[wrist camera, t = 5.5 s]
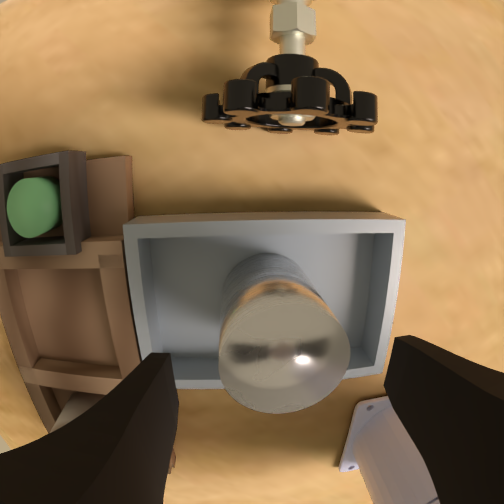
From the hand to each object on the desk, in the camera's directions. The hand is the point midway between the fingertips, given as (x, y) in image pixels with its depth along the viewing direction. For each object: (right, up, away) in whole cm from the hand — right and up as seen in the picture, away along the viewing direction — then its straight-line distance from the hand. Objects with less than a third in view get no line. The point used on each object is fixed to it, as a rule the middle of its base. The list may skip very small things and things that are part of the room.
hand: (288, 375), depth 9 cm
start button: (-11, +6, +3) cm, 13 cm away
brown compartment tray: (-11, -1, +7) cm, 13 cm away
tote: (0, +2, +7) cm, 7 cm away
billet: (0, +2, +6) cm, 7 cm away
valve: (0, +15, +4) cm, 16 cm away
